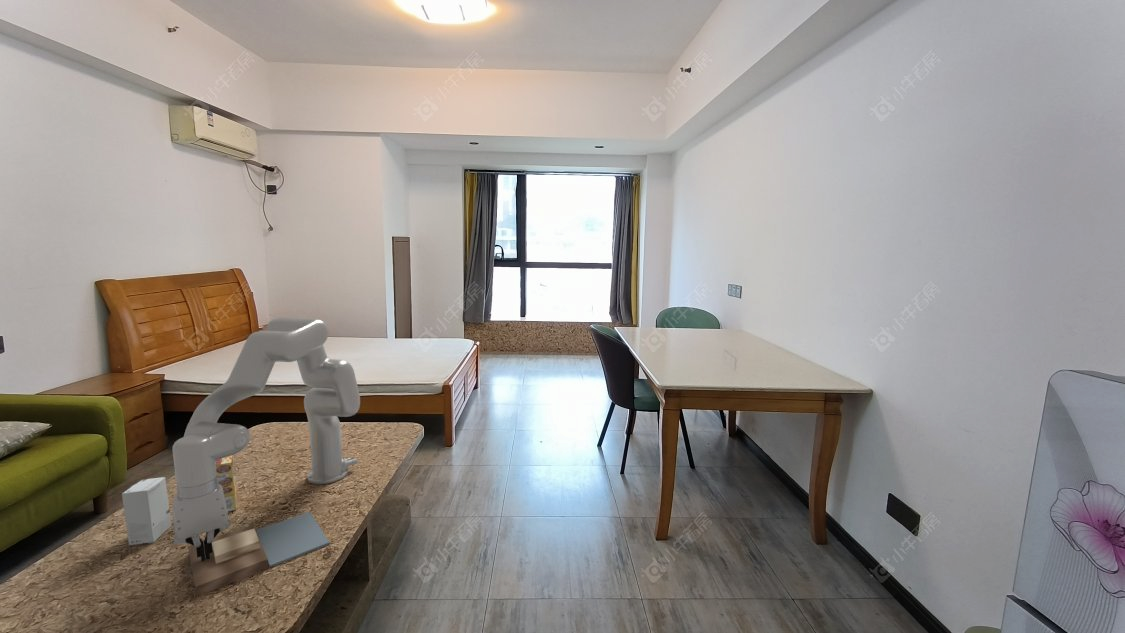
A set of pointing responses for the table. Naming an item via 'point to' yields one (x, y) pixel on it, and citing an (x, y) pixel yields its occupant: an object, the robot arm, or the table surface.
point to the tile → (235, 545)
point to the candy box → (228, 481)
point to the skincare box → (146, 510)
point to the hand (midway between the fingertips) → (205, 557)
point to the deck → (225, 566)
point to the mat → (291, 538)
